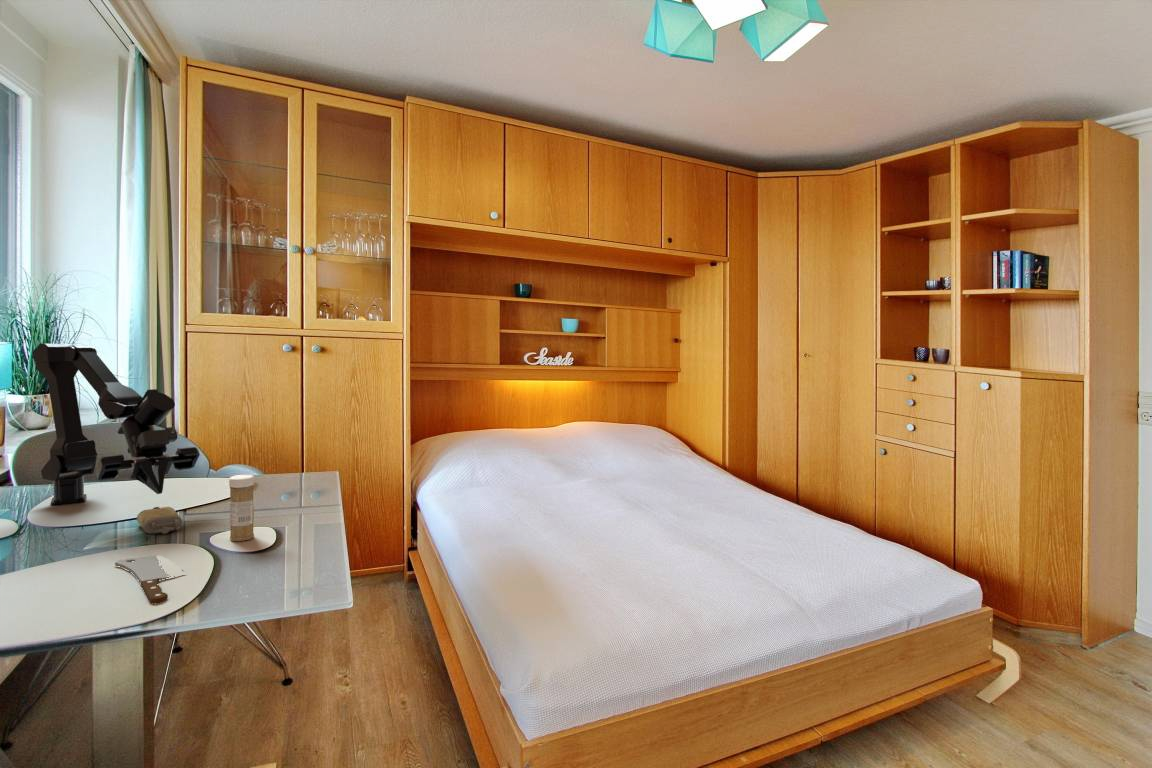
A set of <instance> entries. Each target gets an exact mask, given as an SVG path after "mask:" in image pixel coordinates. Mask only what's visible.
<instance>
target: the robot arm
mask: <svg viewBox="0 0 1152 768" xmlns="http://www.w3.org/2000/svg"><path fill="white" fill-rule="evenodd" d="M31 356H32V360H33V361H34V365H35V367H36V371H37V372H39V374H40V375H41V376H42V377H44V378H45V380H46V381H47V385H48V392H49V398H50V404H51V410H52V416H53V423H54V429H55V436H56V439H55V440H54V443H53V444H52V446H51V447H50V450H49V460H48V461H47V462H46V463H45V465H44V466H43V468H42V469H41V470H40V473H41V476H42V479H43V480H47V481H53V485H52V486H53V487H52V489H53V497H52V498H51V500H50V506H54V505H64V504H66V505H67V504H72V503H73V504H75V503H82V502H86V501H87V494H86V493H85V488H84V487H85V482H84V481H85V479H84V476H87V475H94V472H95V475H96V478H97V480H98V481H106V480H115V479H117V477H118V476H119V471H124V470H129V471H130V472H131V473H130V475H129V478H130V479H131V480H137V481H139V482H140V483H142V484H144V485H145V486H146V487H148V488H149V489H150V490H151V491H153V492H154V493H156V495H159V494H162V493H163V491H164V484H165V483H164V482H165V475H167V474H169V472H170V469H171V467H172V466H173V468H174V469H176V470H178V471H182V470H191V469H192V468H195V466H196V463H197V461H198V459H199V457H200V455H201V454H200V451H199V449H198V448H197V446H188V447H187V446H185V447H178V448H177V449H176V451H175V453H173V454H164V453H166V452H167V450H168V448H167V445H170V443H173V442H174V443H175V442H176V441H177V439H178V432H177V430H176V428H175V427H174V426H171V427H165V428H164V429H157V430H156V429H155V426H158V425H160V424H161V423H162V422H163V421H164V420H165V419H166V417H167V416H168V415H169V414H170V413H171V412H172V410H173V409H174V408H175V406H176V404H175V401H174V399H173V398H172V397H170V396H168V395H167V394H165V393H162V392H159V391H158V389H157V388H155V389H154V388H151V389H147V390H146V391H145V393H144V395H143V396H141V395H140V393H138V392H137V391H136V390H135V389H133V388H131V387H130V386H126V385H124V384H122V383H121V382H120V380H118V379H117V377H116V375H115V374H113V372H112V371H111V370H110V368H109V367H108V366H107V364H106V363H104V361H103V360H102V358H100V356H99V355H98V352H97V349H96V347H93V346H91V345H74V344H72V343H40V344H38V345H37V346H36V347H35V348H33V351H32V355H31ZM78 372H80V373H81V375H82V376H83V378H85V380H86V382H88V384H89V385H90V386H91V388H92V389H93V390H94V392H96V394H97V395H98V397H99V398H98V403H97V405H98V407H99V408H100V410H101V412H102V413H103V415H104V417H106V418H107V419H108V420H121V419H124V420H123V421H122V423H121V424H120V425H121V426H120V427H119V429H118V431H117V434H118V435H124V438H125V440H126V444H127V446H128V448H127V453H128V454H130V456H131V459H126V460H125V457H124V454H120V453H119V454H111V455H103V456H101V457H100V458H99V460H98V453H97V450H96V441H95V440H94V439H89V438H88V437H86V436H85V435H84V431H83V427H82V420H81V413H80V409H79V408H80V407H79V401H78V396H77V389H76V383H75V377H76V375H77V373H78ZM97 461H98V462H97ZM96 464H97V465H96ZM153 469H154V470H153Z"/></svg>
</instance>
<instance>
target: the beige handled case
mask: <svg viewBox="0 0 1152 768" xmlns="http://www.w3.org/2000/svg"><path fill="white" fill-rule="evenodd" d="M136 521H137V523H138V524H139V525H140V526H141V528H142V530H143V531H144V532H145V533H148V534H159V533H161V534H168V533H169V532H171V531H175V532H176V531H177V532H178V531H179V530H180V527H181V526H182V524H183V519H182V518H181V516H180V515H179V514H178V513H177V512H176V510H175V509H174V508H173V507H171V506H163V507H160V506H155V507H153V508H150V509H143V510H142V511H140V512H139V513H138V514H137V515H136Z"/></svg>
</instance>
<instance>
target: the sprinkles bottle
mask: <svg viewBox="0 0 1152 768" xmlns="http://www.w3.org/2000/svg"><path fill="white" fill-rule="evenodd" d="M228 480H229V481H228V486H229V489H230V490H229V492H230V493H229V496H230V500H229V526H230V528H229V529H230V530H229V531H230V537H229V540H230V541H232V542H245V540H246V541H249V540H251V539H253V538H254V537H255V533H254V521H255V520H254V519H255V511H254V510H255V509H254V487H255V486H254V485H255V476H254V475H253V474H238V475H232V476H230V477H229V479H228Z"/></svg>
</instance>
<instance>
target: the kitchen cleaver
mask: <svg viewBox="0 0 1152 768" xmlns="http://www.w3.org/2000/svg"><path fill="white" fill-rule="evenodd" d="M157 555H158V554H155V555H147V556H146V555H145V556H139V557H138V556H137V557H130V558H129V557H128V558H123V559H121V558H120V559H119V560H117V561H115V562H114V566H115V565H116V566H120V567H123V568H125V569H127V570H129V571H130V572H132V573H133V574H134V575H135V576H136V577H137V579H138V580H139V582H140V583H141V584H140V583H139V582H138V583H139V584H140V587H142V588H143V589H142V588H141V589H142V591H143V590H144V591H143V593H144V592H145V593H144V595H145V594H146V595H145V596H147V597H146V598H148V599H147V601H148V602H149V603H150V604H151V603H153V604H152V605H155V604H154V603H158V604H160V602H162V603H164V602H166V601H167V600H168V599H167V598H168V597H169V595H168V593H166V592H164V591H163V589H162V587H161V585H159V582H158V581H159V580H162V579H166V578H169V577H171V576H169V575H170V574H169V575H168V574H166V573H167V572H166V573H165V571H164V569H161V568H162V565H161V566H159V562H158V561H159V560H158V559H157V557H156V556H157ZM132 561H134V562H132ZM160 562H161V561H160ZM125 569H124V570H125ZM130 572H129V573H130ZM134 575H133V576H134ZM135 576H134V577H135ZM167 576H169V577H167ZM136 577H135V578H136ZM174 577H175V576H174ZM137 579H136V580H137ZM138 580H137V581H138ZM157 584H158V585H157ZM166 599H167V600H166ZM165 600H166V601H165ZM163 601H164V602H163Z"/></svg>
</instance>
